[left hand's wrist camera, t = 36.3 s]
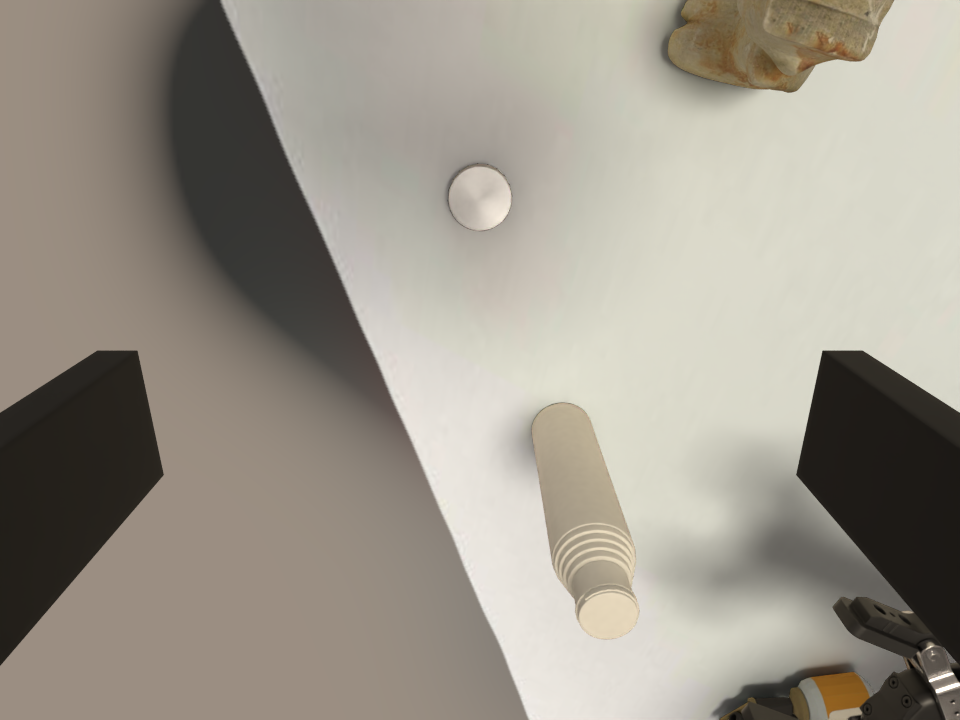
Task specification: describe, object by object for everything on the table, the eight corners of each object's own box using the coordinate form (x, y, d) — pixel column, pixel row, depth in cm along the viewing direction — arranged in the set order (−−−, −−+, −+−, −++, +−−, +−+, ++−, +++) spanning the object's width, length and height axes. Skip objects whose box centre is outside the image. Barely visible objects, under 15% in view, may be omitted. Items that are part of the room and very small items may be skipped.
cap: (462, 153, 42) (462, 154, 41) (521, 178, 43) (522, 181, 41) (439, 212, 44) (438, 216, 42) (496, 236, 44) (496, 241, 43)
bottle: (603, 430, 50) (675, 618, 32) (558, 466, 51) (601, 667, 33) (565, 391, 49) (616, 562, 30) (519, 428, 50) (542, 615, 32)
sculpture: (693, -31, 38) (817, -110, 24) (798, 17, 39) (975, -32, 25) (650, 69, 40) (740, 49, 26) (751, 112, 41) (890, 116, 27)
